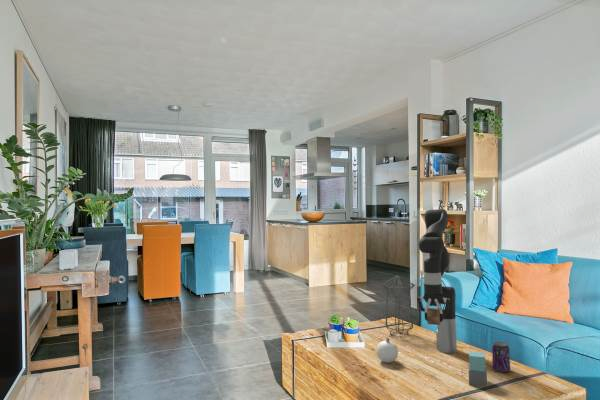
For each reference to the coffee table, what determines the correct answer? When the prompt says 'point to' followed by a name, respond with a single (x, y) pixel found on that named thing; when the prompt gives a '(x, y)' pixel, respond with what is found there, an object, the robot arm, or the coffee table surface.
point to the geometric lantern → (399, 303)
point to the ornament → (387, 351)
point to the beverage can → (501, 357)
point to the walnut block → (433, 316)
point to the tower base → (478, 378)
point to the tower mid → (477, 361)
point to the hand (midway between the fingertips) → (434, 321)
